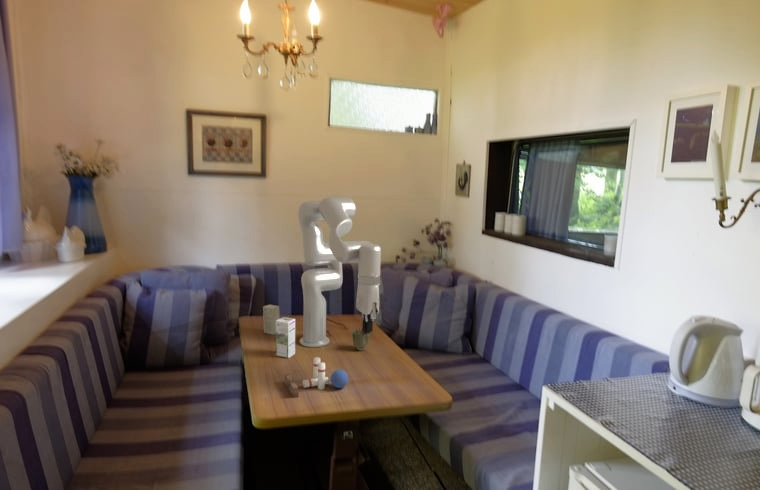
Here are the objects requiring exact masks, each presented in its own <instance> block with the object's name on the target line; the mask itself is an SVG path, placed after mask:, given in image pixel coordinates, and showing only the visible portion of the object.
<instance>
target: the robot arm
mask: <svg viewBox="0 0 760 490" xmlns="http://www.w3.org/2000/svg"><path fill="white" fill-rule="evenodd" d="M356 211H357V207H356V203H355V201H354V200H353V199H351V198H350V197H348V196H343V197H342V196H330V197H325V198H323V199H321V200H308V201H304V202H302V203H301V204H300V205H299V207H298V210H297V218H298V223H299V226H300V229H301V233H302V246H303V247H302V250H303V259H304V263H305V264H306V265H307V266H313V267H316V266H327V267H323V268H320V267H319V268H312V269H311V268H310V269H307V270H305V271H304V272H303V273H302V275H301V280H300V283H301V287H302V295H303V296H302V297H303V320H302V321H303V325H302V326H303V331H302V334H303V336H302V337H300V339H299V344H300V345H301V346H304V347H309V348H319V347H324V346H327V345H328V344H330V338H329V337H327V336H326V335H327V332H326V330H327V322H326V317H327V300H326V298H325V296H323V294H322V292H326V291H327V292H328V291H333V290H338V289H340V288H341V287H342V285H343V280H344V279H343V278H344V277H343V264H350V263H358V267H357V268H358V272H357V273H358V274H357V289H356V301H355V308H356V310H357V311H359V312H360V313H361V316H362V318H361V319H362V324H361V325H362V327H361V329H362V331H363V332H365V333H366V332H370V333H373V330H374V329H373V328H374V327H373V326H374V325H373V324H374V319H375V320H376V319H377V315H378V314H379V312H380V289H379V287H380V285H381V263H382V261H381V257H382V248H381V246H380V245H379V244H375V243H372V242H370V241H368V240H353V241H352V240H351V241H350V240H349V241H343V240H342V239H341V238H342V237H343V236H345V235H347V234H348V233H350V231H351V230H352V227H353V221H352V218H354V216H355V214H356ZM318 222H325V223H326V224H327V226H328V228H329V229H330V231H329V233H328V237H327V238H328V240H327V241H328V242H324V232H323V229H322V227H321V226H320V225H319V223H318Z"/></svg>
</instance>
